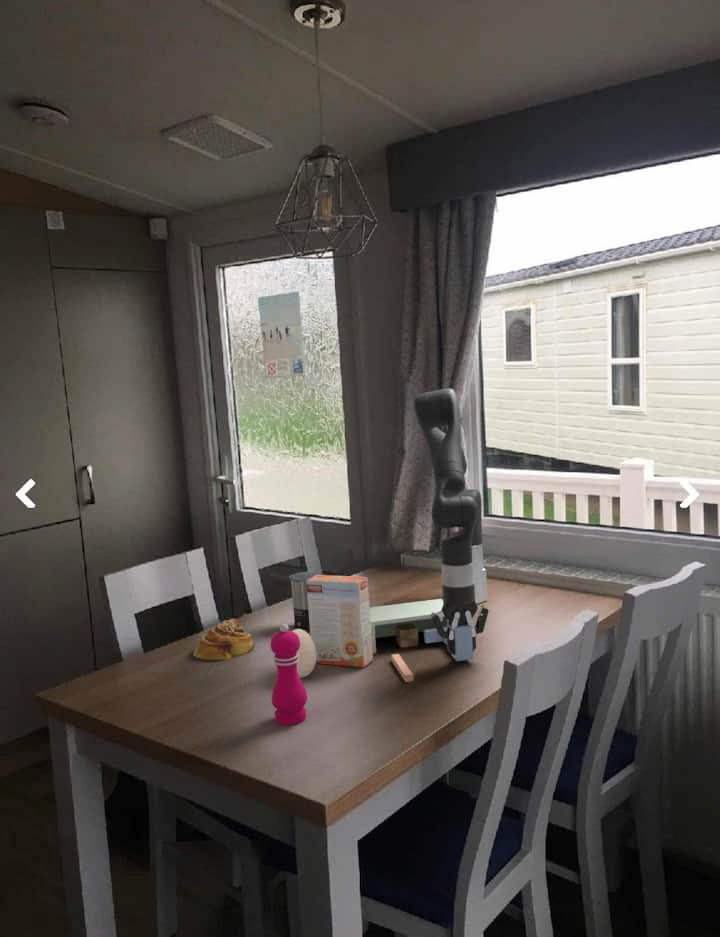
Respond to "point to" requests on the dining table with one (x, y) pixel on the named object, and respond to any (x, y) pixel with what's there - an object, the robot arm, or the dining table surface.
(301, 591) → the milk frother
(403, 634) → the walnut cube
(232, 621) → the pastry
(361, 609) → the cracker box
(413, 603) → the cubby
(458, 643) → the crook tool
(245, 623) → the dining table surface
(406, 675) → the straight stick
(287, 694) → the pepper mill
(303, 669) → the egg
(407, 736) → the dining table surface
